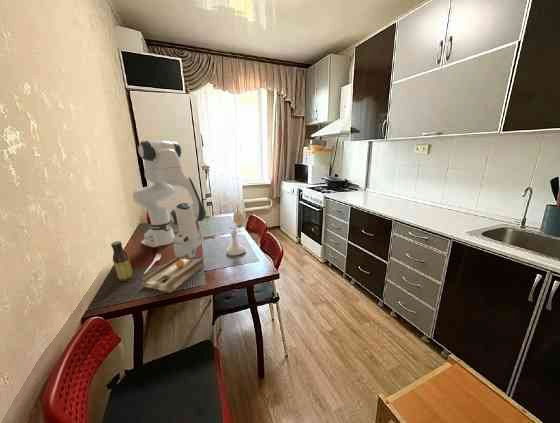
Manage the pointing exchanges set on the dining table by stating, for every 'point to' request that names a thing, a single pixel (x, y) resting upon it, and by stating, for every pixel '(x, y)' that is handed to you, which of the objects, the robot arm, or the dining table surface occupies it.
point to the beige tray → (172, 274)
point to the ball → (179, 263)
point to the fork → (153, 262)
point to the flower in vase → (235, 247)
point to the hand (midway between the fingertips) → (192, 256)
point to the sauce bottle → (121, 262)
